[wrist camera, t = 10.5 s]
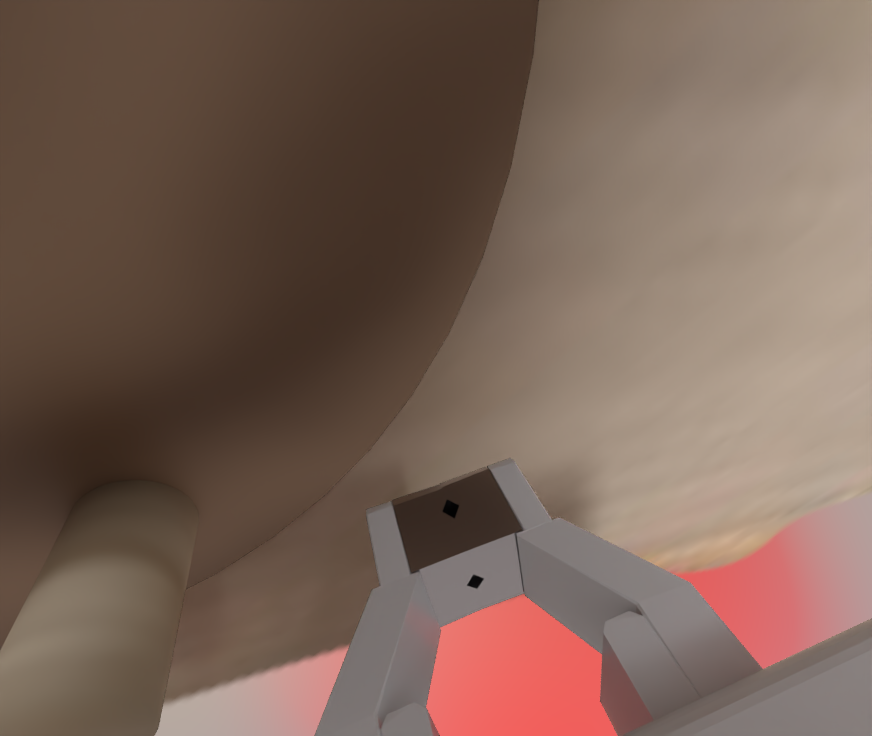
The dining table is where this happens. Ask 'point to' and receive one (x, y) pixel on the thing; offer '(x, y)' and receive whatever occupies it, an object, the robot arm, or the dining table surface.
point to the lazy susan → (215, 295)
